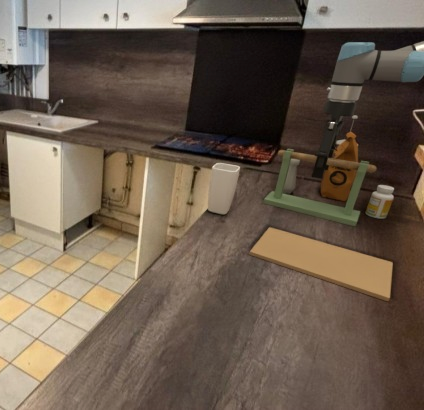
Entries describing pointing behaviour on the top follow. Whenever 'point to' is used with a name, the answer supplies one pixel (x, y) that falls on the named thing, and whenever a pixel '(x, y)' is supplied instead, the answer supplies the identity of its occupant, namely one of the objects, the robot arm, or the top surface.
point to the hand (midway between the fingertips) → (319, 173)
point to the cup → (222, 187)
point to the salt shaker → (291, 177)
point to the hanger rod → (328, 161)
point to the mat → (326, 262)
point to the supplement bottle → (380, 202)
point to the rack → (315, 207)
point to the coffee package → (341, 171)
